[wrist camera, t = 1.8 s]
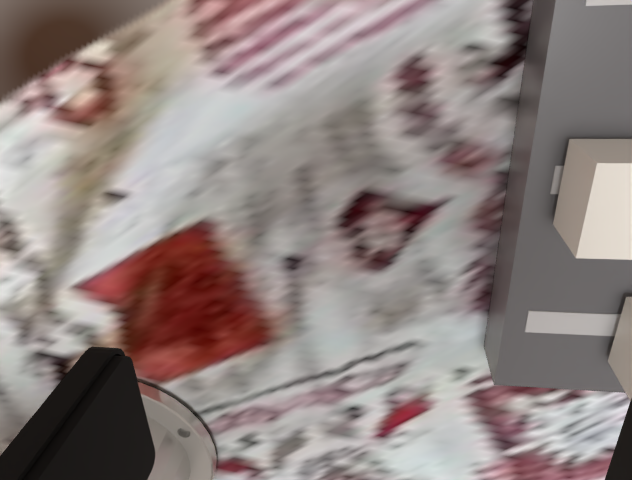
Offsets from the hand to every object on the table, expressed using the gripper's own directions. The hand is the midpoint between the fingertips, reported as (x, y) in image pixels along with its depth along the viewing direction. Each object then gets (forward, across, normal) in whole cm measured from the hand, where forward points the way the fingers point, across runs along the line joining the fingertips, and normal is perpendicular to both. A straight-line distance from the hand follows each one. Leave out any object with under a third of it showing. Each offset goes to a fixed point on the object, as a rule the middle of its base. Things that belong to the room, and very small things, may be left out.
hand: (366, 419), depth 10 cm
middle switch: (+13, -9, 0) cm, 16 cm away
